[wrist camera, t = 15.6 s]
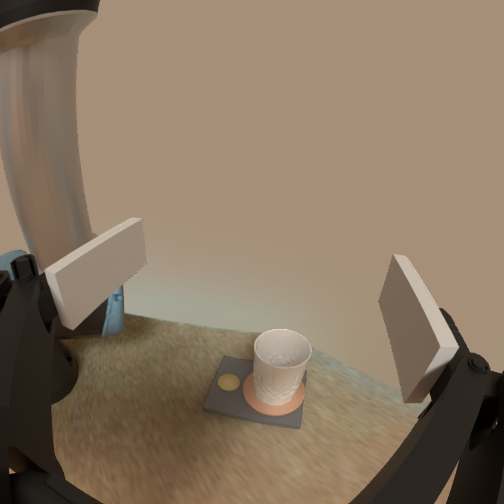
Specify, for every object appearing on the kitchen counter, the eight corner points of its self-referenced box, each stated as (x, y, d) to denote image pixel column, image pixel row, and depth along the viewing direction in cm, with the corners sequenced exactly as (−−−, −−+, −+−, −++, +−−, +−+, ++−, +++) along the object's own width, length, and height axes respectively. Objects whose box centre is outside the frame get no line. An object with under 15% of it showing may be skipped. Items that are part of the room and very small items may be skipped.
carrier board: (202, 409, 37) (202, 403, 36) (224, 359, 48) (224, 352, 47) (299, 429, 34) (301, 423, 34) (305, 373, 45) (307, 367, 44)
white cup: (266, 416, 35) (274, 376, 31) (240, 381, 41) (243, 337, 37) (308, 396, 38) (323, 354, 34) (281, 365, 45) (289, 322, 40)
